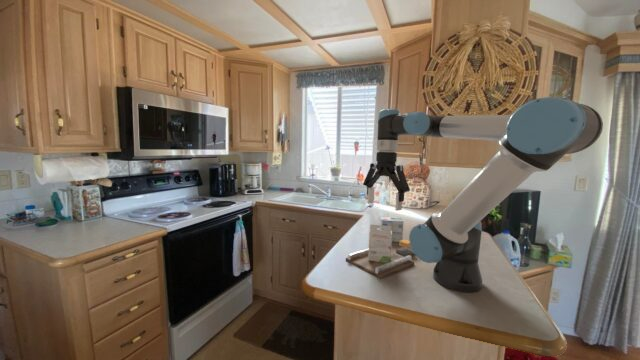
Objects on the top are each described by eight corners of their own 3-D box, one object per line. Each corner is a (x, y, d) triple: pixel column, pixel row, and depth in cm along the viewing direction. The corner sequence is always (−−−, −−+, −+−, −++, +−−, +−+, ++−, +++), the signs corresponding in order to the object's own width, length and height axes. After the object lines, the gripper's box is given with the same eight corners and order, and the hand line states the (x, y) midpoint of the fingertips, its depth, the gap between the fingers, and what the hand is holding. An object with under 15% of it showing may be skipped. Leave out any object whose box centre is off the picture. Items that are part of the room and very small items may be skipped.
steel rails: (411, 260, 105) (411, 256, 104) (377, 274, 93) (378, 268, 92) (381, 248, 117) (381, 244, 116) (348, 259, 105) (348, 254, 104)
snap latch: (412, 246, 114) (412, 241, 114) (407, 248, 112) (407, 243, 112) (404, 243, 117) (404, 239, 117) (399, 245, 115) (399, 241, 115)
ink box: (391, 259, 106) (393, 223, 104) (390, 264, 101) (392, 226, 99) (369, 255, 109) (371, 220, 107) (367, 260, 104) (369, 224, 102)
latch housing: (414, 253, 114) (414, 250, 114) (406, 256, 111) (407, 253, 111) (403, 249, 119) (403, 246, 119) (396, 252, 116) (396, 249, 115)
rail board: (414, 264, 104) (414, 262, 104) (380, 278, 92) (380, 275, 92) (378, 249, 118) (378, 247, 118) (345, 260, 106) (345, 257, 106)
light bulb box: (400, 237, 135) (401, 217, 134) (402, 242, 128) (404, 221, 127) (378, 236, 136) (380, 216, 135) (380, 241, 129) (381, 219, 128)
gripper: (356, 150, 107) (353, 201, 110) (409, 152, 88) (405, 214, 90) (368, 151, 112) (366, 200, 114) (422, 152, 92) (418, 211, 95)
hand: (383, 206), depth 102 cm, fingers open, 13 cm apart
